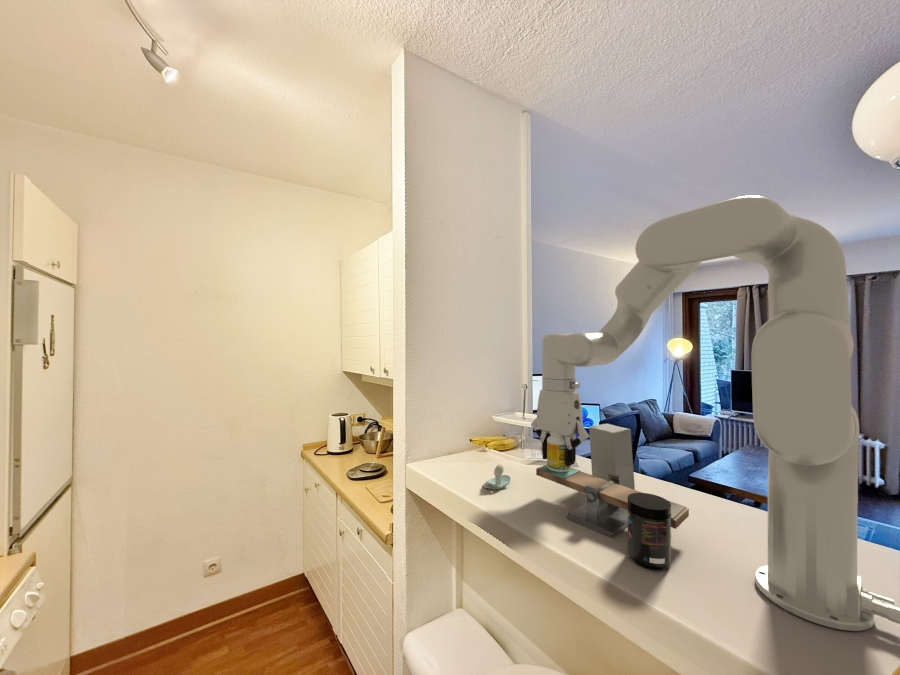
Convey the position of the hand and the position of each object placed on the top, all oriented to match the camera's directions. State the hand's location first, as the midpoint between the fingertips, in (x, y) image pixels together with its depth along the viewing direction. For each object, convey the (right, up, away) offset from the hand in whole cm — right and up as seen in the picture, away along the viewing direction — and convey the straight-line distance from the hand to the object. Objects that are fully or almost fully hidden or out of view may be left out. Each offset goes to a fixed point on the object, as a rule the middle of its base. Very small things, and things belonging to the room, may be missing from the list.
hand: (558, 460), depth 88 cm
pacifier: (-14, -10, +8) cm, 19 cm away
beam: (+7, -3, -8) cm, 12 cm away
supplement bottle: (0, -2, 0) cm, 2 cm away
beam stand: (+7, -9, -8) cm, 15 cm away
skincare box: (+15, -10, +7) cm, 19 cm away
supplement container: (+9, -10, -23) cm, 27 cm away
